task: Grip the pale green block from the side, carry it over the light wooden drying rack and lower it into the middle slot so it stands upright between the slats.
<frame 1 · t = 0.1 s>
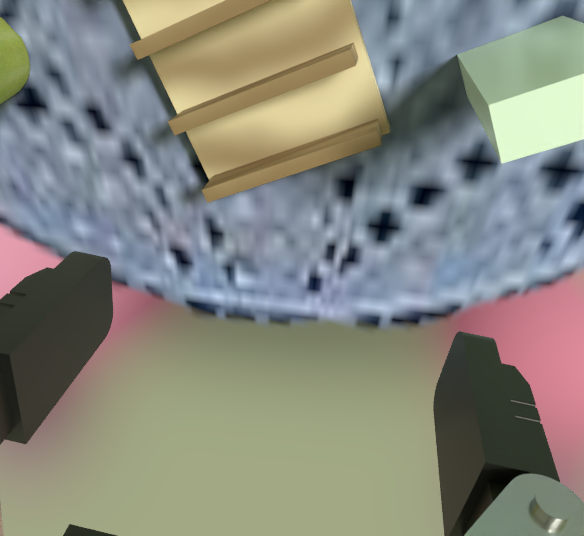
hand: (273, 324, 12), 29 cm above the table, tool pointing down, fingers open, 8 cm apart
pale green block: (512, 57, 35), on the table
drying rack: (256, 44, 37), on the table
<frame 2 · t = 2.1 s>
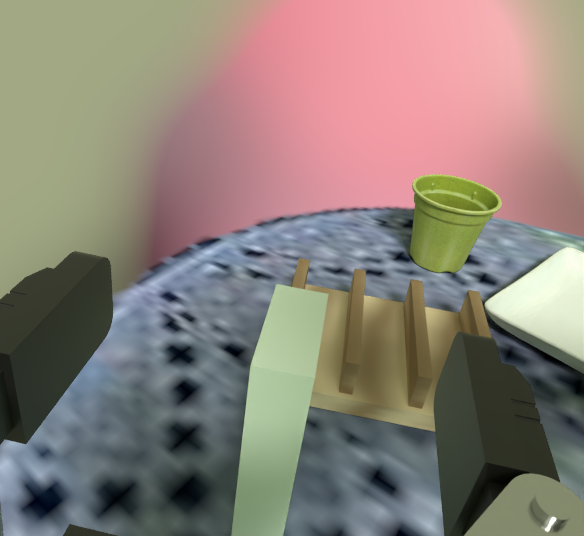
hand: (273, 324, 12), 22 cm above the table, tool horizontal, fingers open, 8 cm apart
pale green block: (264, 503, 33), on the table
plant pot: (434, 261, 62), on the table
drying rack: (377, 358, 46), on the table
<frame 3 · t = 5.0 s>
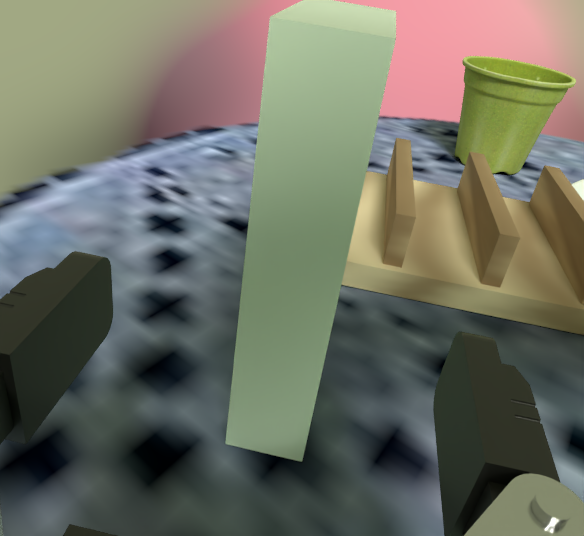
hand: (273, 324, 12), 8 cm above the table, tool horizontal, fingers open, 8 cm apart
pale green block: (280, 389, 22), on the table
plant pot: (485, 165, 51), on the table
drying rack: (427, 243, 35), on the table
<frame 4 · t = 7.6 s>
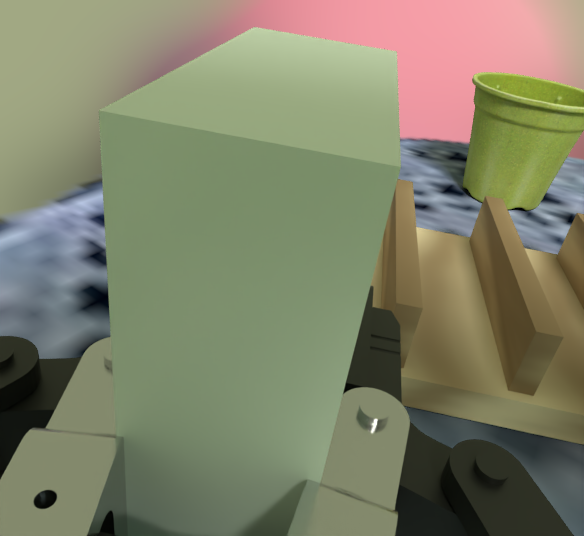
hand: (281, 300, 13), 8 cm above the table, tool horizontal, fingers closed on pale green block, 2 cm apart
plant pot: (498, 198, 44), on the table
drying rack: (434, 315, 28), on the table
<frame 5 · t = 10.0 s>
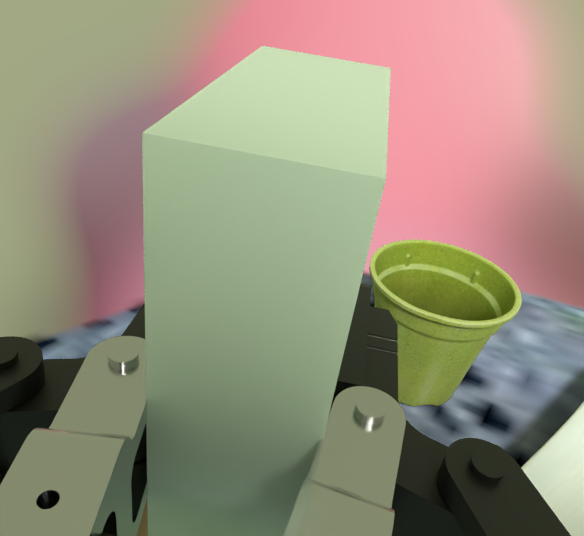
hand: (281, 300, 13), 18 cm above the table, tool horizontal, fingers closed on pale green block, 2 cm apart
plant pot: (409, 379, 38), on the table
when the fingers open (11 cm above the table, at t = 12.6 s): pale green block stays where it is, resting on drying rack.
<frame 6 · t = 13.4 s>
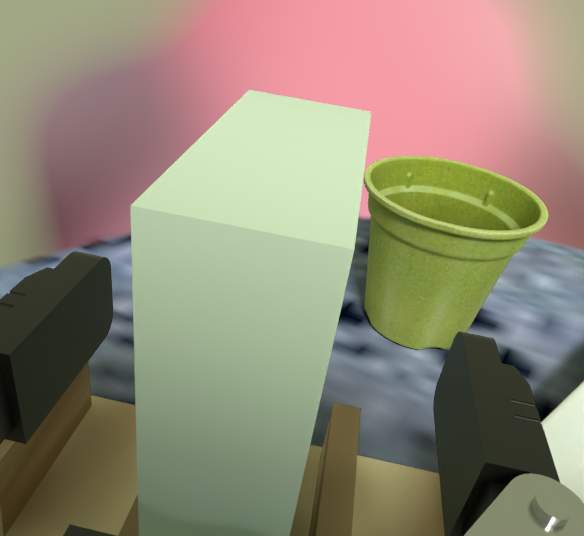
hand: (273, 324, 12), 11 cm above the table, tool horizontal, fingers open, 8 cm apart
plant pot: (411, 323, 33), on the table
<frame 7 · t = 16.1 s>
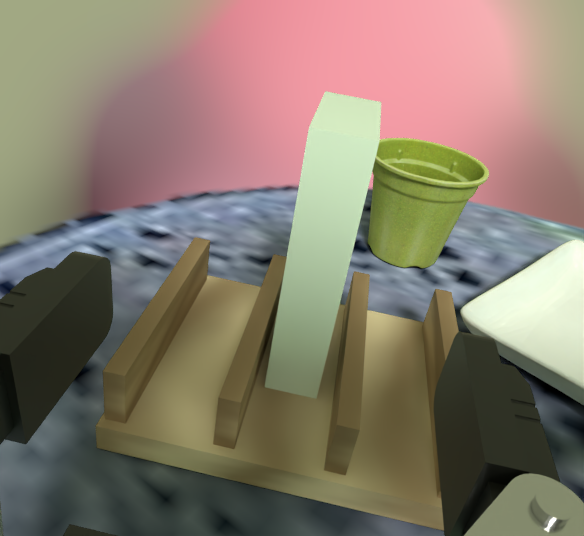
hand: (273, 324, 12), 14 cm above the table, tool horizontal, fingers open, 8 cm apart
pale green block: (299, 353, 31), point 1 cm above the table, touching drying rack
plant pot: (400, 253, 47), on the table
drying rack: (295, 386, 31), on the table
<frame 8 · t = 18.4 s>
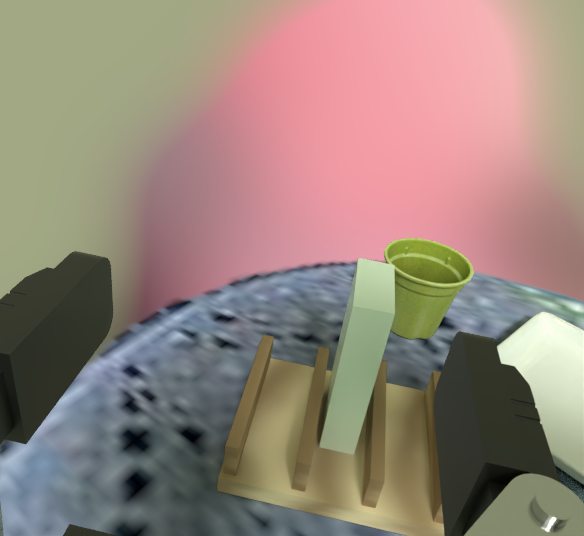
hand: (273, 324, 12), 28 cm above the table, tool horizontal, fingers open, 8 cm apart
pale green block: (339, 420, 45), point 1 cm above the table, touching drying rack
plant pot: (408, 325, 61), on the table
drying rack: (337, 442, 45), on the table
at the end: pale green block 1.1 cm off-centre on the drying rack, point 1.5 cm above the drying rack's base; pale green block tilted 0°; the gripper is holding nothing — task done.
